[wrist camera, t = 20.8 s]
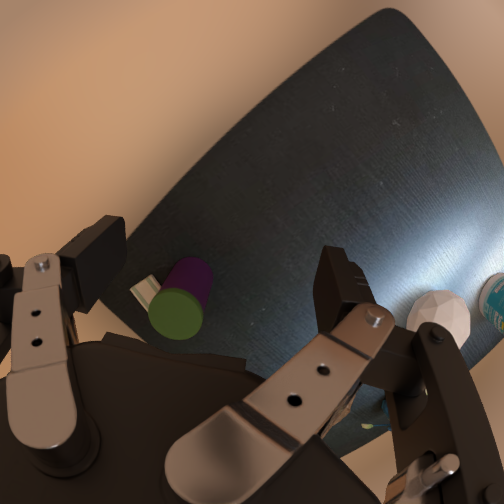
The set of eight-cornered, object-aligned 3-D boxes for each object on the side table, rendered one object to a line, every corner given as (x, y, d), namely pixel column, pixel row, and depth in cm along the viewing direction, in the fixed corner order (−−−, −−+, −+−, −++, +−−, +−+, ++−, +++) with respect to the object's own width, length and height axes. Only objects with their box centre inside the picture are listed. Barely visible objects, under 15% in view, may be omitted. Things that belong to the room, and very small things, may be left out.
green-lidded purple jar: (163, 268, 34) (137, 306, 26) (198, 248, 34) (180, 282, 25) (187, 302, 36) (169, 347, 27) (222, 284, 35) (212, 327, 26)
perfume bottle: (430, 265, 32) (366, 333, 37) (474, 317, 25) (396, 389, 29) (454, 285, 36) (398, 343, 41) (491, 330, 29) (426, 390, 33)
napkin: (131, 287, 35) (129, 289, 35) (152, 273, 35) (150, 276, 34) (170, 336, 37) (169, 338, 37) (191, 324, 37) (190, 327, 36)
